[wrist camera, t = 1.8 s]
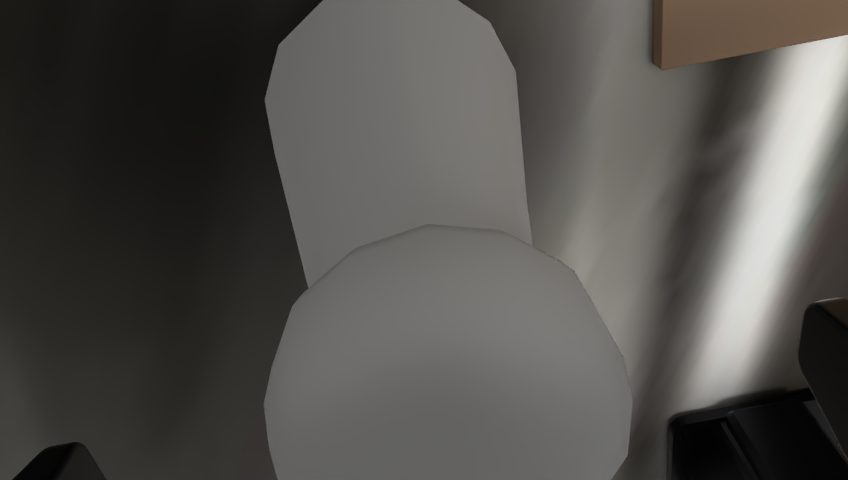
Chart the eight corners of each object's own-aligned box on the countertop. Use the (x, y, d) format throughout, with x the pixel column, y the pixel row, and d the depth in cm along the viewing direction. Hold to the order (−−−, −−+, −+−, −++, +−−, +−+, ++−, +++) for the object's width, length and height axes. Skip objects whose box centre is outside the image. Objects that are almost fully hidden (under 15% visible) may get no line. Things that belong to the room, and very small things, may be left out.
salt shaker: (269, 166, 19) (181, 647, 9) (276, -56, 17) (156, 247, 6) (477, 183, 20) (637, 637, 9) (519, -25, 17) (823, 290, 7)
